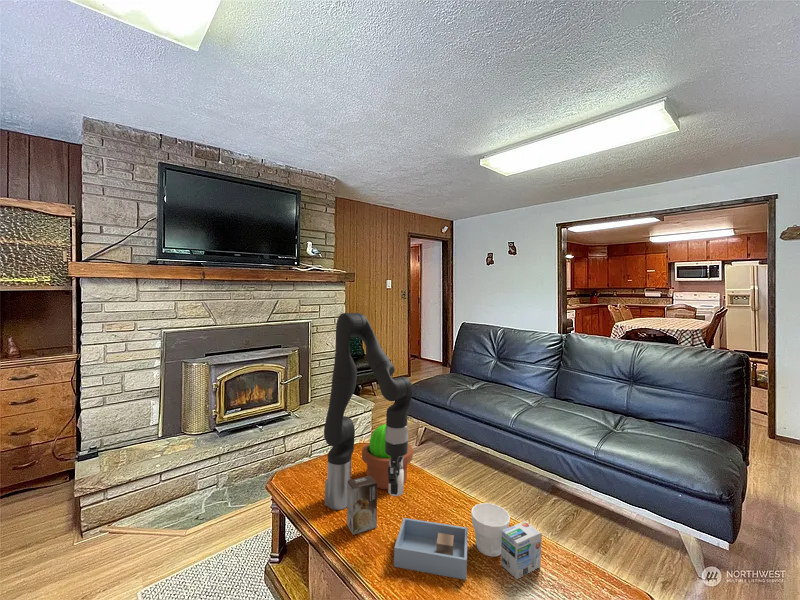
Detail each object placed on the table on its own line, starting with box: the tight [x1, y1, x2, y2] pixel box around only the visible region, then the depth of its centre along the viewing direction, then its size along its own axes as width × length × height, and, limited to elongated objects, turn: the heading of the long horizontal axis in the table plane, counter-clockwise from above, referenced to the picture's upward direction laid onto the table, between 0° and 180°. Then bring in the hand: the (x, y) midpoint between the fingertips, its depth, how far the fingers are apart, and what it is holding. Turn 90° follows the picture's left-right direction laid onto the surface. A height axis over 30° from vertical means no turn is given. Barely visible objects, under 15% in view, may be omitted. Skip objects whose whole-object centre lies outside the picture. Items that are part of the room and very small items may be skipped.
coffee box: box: [346, 475, 378, 535], centre depth 124 cm, size 9×6×16 cm
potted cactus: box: [361, 423, 414, 490], centre depth 156 cm, size 22×22×25 cm
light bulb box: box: [500, 520, 543, 580], centre depth 107 cm, size 11×7×11 cm, turn 119°
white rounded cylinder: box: [387, 468, 405, 497], centre depth 116 cm, size 5×5×7 cm
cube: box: [436, 533, 454, 556], centre depth 110 cm, size 5×5×5 cm
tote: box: [393, 517, 469, 581], centre depth 111 cm, size 22×15×6 cm
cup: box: [470, 502, 511, 557], centre depth 115 cm, size 12×12×11 cm
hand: (395, 489), depth 116 cm, fingers closed on white rounded cylinder, 5 cm apart
